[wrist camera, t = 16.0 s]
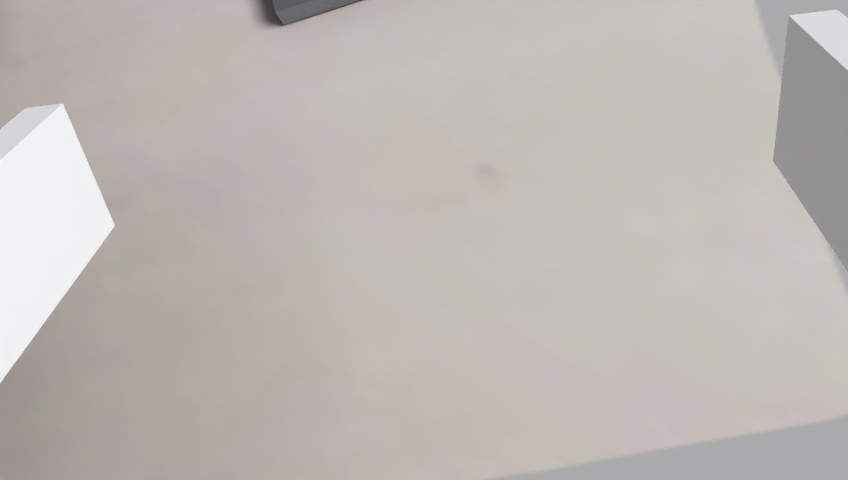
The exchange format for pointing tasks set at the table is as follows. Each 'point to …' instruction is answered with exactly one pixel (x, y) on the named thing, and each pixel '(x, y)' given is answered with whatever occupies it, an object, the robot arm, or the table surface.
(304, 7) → the riveted socket plate
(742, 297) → the table surface
